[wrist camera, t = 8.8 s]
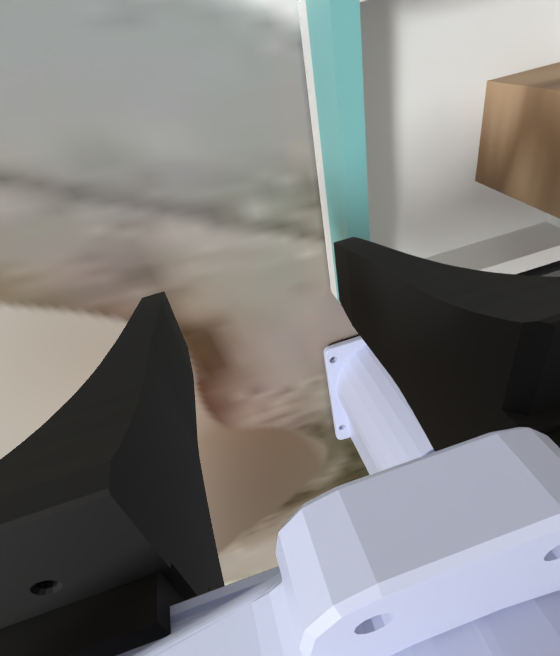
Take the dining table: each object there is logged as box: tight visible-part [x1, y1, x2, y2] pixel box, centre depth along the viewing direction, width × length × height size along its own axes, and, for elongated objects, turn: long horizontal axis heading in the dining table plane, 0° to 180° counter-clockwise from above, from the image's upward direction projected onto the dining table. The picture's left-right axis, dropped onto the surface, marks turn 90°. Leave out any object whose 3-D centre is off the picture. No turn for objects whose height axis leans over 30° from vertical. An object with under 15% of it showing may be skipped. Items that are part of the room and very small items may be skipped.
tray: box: [297, 0, 560, 304], centre depth 19 cm, size 14×14×4 cm
